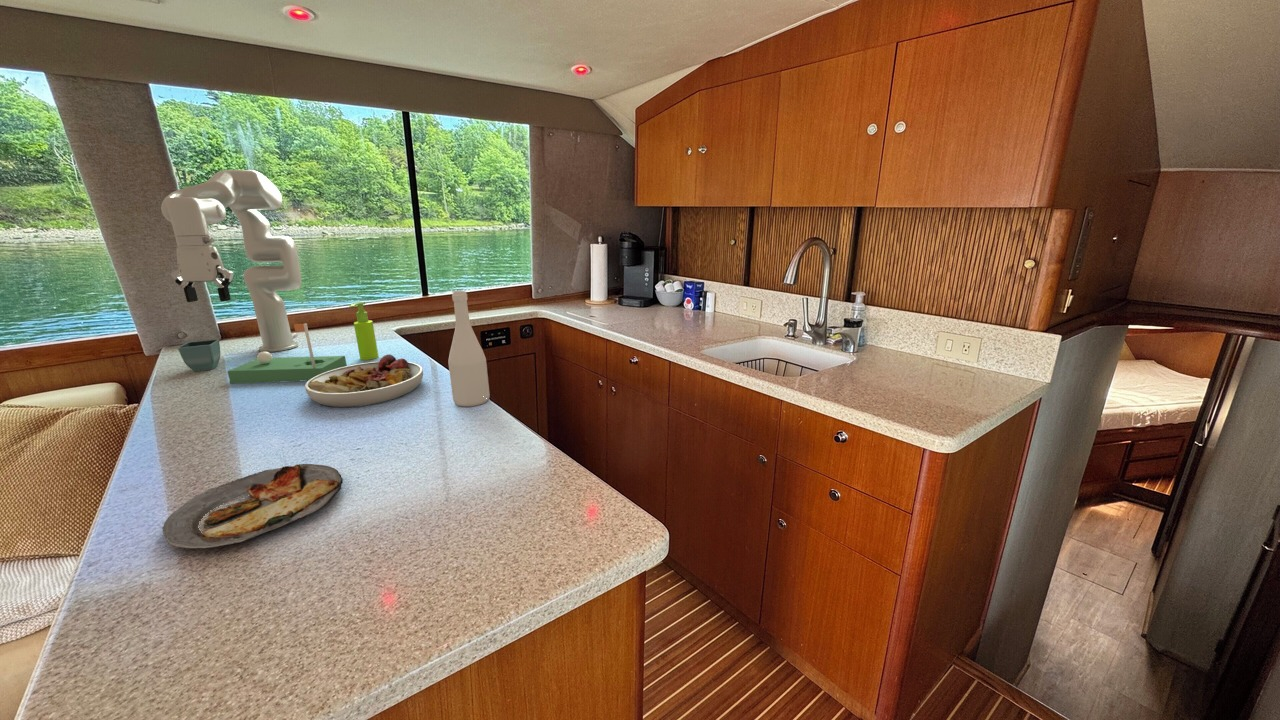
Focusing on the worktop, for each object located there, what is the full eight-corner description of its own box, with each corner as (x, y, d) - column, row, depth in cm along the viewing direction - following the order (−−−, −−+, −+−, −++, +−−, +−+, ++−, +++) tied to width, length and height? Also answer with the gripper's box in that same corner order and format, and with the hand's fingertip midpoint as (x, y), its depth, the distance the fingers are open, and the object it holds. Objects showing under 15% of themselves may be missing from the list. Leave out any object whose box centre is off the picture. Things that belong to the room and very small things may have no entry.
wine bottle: (467, 410, 129) (453, 295, 120) (446, 402, 135) (431, 292, 126) (497, 399, 136) (486, 290, 128) (476, 392, 142) (464, 288, 133)
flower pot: (194, 367, 170) (186, 341, 167) (225, 363, 174) (219, 338, 171) (184, 374, 162) (176, 347, 160) (217, 370, 166) (210, 344, 163)
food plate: (317, 461, 103) (313, 445, 102) (366, 500, 89) (362, 483, 88) (155, 519, 85) (148, 502, 84) (184, 581, 71) (177, 561, 70)
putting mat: (261, 369, 166) (248, 316, 161) (347, 367, 168) (337, 314, 162) (230, 383, 153) (215, 326, 148) (324, 380, 154) (312, 323, 149)
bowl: (394, 411, 130) (389, 383, 128) (282, 411, 131) (275, 383, 128) (441, 375, 159) (437, 351, 156) (348, 375, 159) (344, 352, 157)
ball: (263, 362, 160) (261, 350, 159) (276, 361, 161) (273, 349, 160) (255, 365, 157) (252, 353, 155) (268, 365, 157) (265, 353, 156)
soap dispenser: (353, 360, 176) (343, 304, 170) (369, 354, 182) (359, 300, 177) (367, 361, 174) (357, 304, 169) (382, 355, 181) (373, 301, 175)
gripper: (234, 241, 147) (247, 298, 152) (175, 242, 146) (190, 299, 151) (214, 242, 140) (228, 302, 144) (151, 243, 139) (168, 303, 144)
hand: (209, 301), depth 148 cm, fingers open, 9 cm apart
